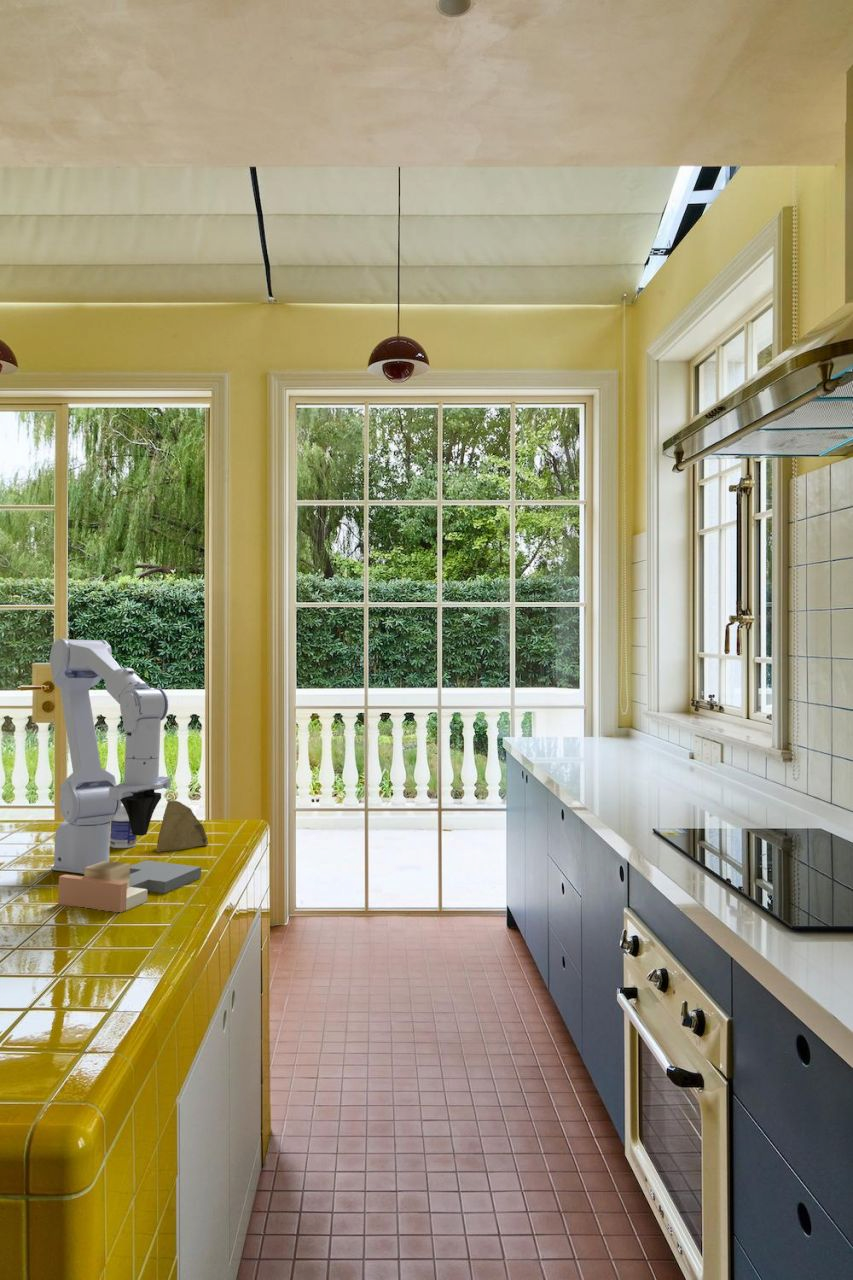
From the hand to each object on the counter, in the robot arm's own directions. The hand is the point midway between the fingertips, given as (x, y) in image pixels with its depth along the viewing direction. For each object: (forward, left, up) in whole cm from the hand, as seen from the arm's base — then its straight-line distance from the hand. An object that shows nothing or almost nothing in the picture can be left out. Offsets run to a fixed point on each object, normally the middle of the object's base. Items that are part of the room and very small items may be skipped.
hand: (139, 834), depth 148 cm
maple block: (+1, -9, -7) cm, 12 cm away
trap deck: (0, -1, -9) cm, 9 cm away
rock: (-10, +29, -10) cm, 32 cm away
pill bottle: (-22, +25, -10) cm, 35 cm away
